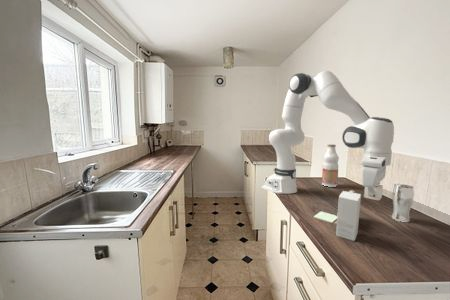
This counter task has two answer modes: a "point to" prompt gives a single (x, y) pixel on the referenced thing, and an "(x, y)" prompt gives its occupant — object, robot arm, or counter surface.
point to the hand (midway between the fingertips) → (373, 193)
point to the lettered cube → (377, 192)
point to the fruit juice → (330, 167)
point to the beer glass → (402, 201)
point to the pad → (326, 217)
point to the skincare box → (348, 215)
